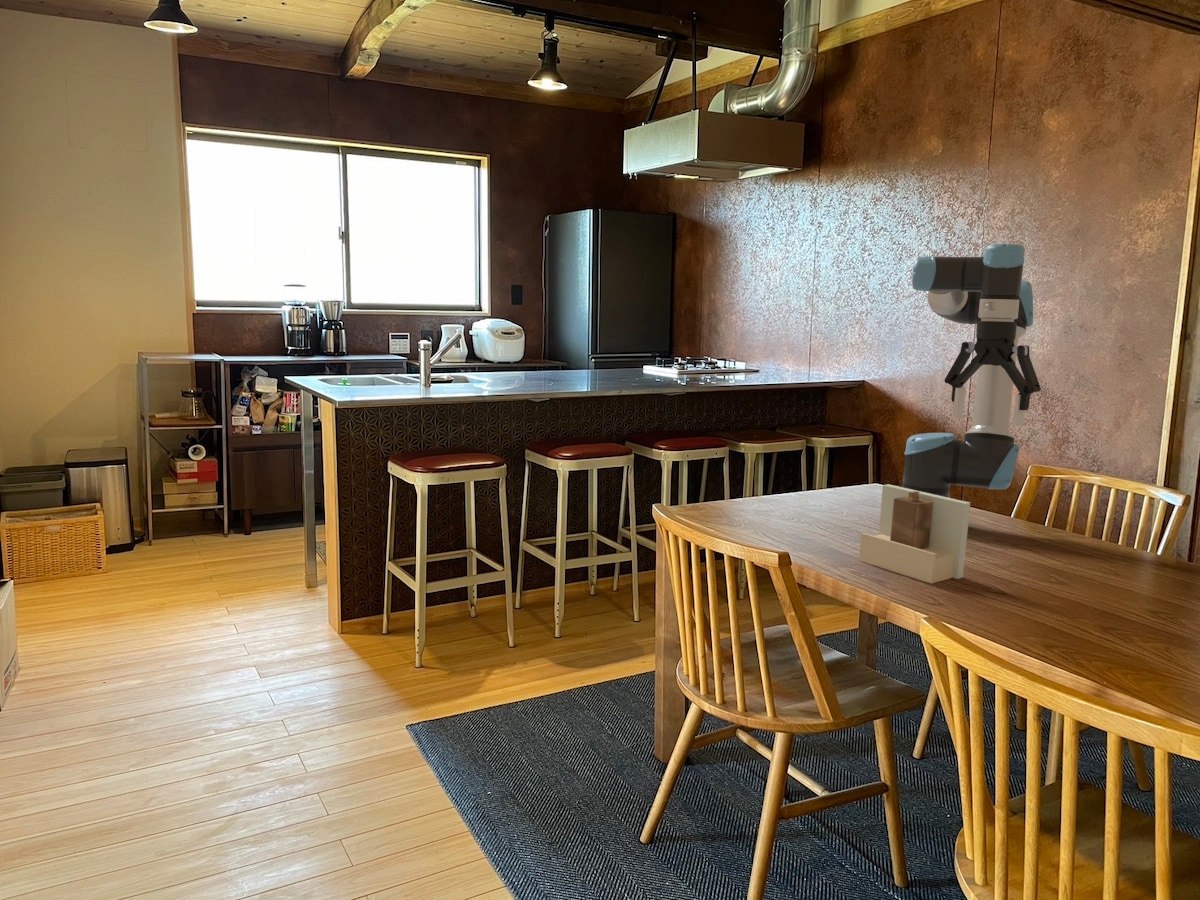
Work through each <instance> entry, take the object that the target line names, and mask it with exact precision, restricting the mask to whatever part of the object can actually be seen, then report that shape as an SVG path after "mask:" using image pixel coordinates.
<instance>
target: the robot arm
mask: <svg viewBox="0 0 1200 900" xmlns="http://www.w3.org/2000/svg"><path fill="white" fill-rule="evenodd" d="M1025 260H1026V259H1025V247H1024V246H1023V245H1022V244H1020V243H1019V244H1018V243H994V244H988V245H987V246H986V247H985V249H984V255H983V256H933V255H929V256H919V257H916V258H915V260H914V262H913V265H912V266H913V267H912V274H911V275H912V277H911V279H912V280H911V285H912V289H914V290H915V291H922V292H927V303H928V306H929V307H930V309H931V310H932V312H934V313H935V314H936V315H938V316H939V317H941V318H943V319H946V320H948V321H949V322H950V321H951V322H954V323H957V324H963V325H976V329H975V330H976V334H975V337H976V341H975V343H974V342H973V341H963V342H962V343H961V346H960V352H959V353H958V355H957V357H956V358H955V361H954V362H953V364H952V366H951V367H950V369H949V372H947V374H946V376H945V378H944V383H945V384H948V385H950V386H951V387H952V391H951V398H950V399H951V402H953V409H952V410H953V411H952V418H954V419H957V418H963V417H964V411H965V403H966V402H965V401H966V391H967V387H966V386H964V385H965V384H966V383H967V381H969V379H971V377H972V376H974V375H975V373H976V372H977V378H976V387H975V396H974V397H975V398H974V405H973V411H972V412H973V415H972V422H971V428H970V429H968V430H967V431H966V432H965V433H964V438H963V439H956V435H955V434H954V433H951V432H926V433H925V432H924V433H917V434H914V435H911V436H909V438H907V440H906V444H905V445H906V446H905V451H904V453H903V454H904V466H903V472H902V473H903V475H902V485H901V487H903V488H907V489H912V490H916V491H921V492H925V493H930V494H934V495H939V496H943V497H948V498H951V497H950V491H951V490H950V489H951V485H952V486H961V487H970V488H979V489H981V488H982V489H987V490H1006V489H1008V488H1009V487H1010V486H1011V484H1012V479H1013V476H1014V472H1015V468H1016V464H1017V459H1018V456H1019V452H1020V448H1021V447H1020V445H1019V444H1017V443H1015V436H1014V435H1013V434H1012V433H1011V432H1010V420H1011V409H1012V401H1013V392H1014V386H1015V388H1016V390H1017V391H1018V393H1016V394H1015V397H1014V406H1013V413H1012V424H1011V426H1012V427H1021V426H1022V427H1023V425H1024V417H1025V411H1028V410H1029V407H1030V400H1031V398H1030V397H1031V395H1032V394H1034V393H1039V392H1041V390H1042V389H1041V385H1040V382H1039V380H1038V376H1037V374H1036V371H1035V368H1034V365H1033V362H1032V360H1031V357H1030V346H1029V345H1028V344H1027V345H1024V344H1023V345H1022V344H1021V345H1018V344H1019V339H1020V338H1021V337H1022V336H1024V335H1025V334H1026V332H1027V331H1026V330H1027V328H1028V327H1032V326H1033V324H1034V299H1033V298H1034V296H1033V286H1032V284H1031V283H1030V281H1028V280H1024V279H1023V271H1024V264H1025ZM974 351H975V354H976V355H975V356H974V357H973V358H972V359H971V360H970V363H968V361H969V359H970V358H971V355H972V353H973V352H974ZM1016 362H1018V363H1019V366H1020V370H1021V372H1022V373H1021V372H1020V370H1019V368H1018V367H1017V363H1016ZM967 363H968V365H967V366H966V364H967ZM965 366H966V367H965Z"/></svg>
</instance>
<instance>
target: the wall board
mask: <svg viewBox="0 0 1200 900" xmlns="http://www.w3.org/2000/svg"><path fill="white" fill-rule="evenodd" d="M881 491H882V492H881V503H880V515H879V528H878V534H876V535H873V534H869V533H865V532H861V534H860V544H859V558H858V561H859V562H862V563H865V564H869V565H871V566H875V567H877V568H880V569H881V568H882V569H883V570H884V569H885V570H888V571H890V572H893V573H897V574H900V575H903V576H906V577H908V578H913V579H915V580H918V581H920V582H925V583H929V584H931V585H932V584H935V583H939V582H941V581H945V580H949V579H957V580H959V579H962V578H963V577H964V570H965V559H966V551H967V541H968V540H967V539H968V530H969V519H970V511H971V502H970V501H965V500H959V499H956V498H951V497H950V498H948V497H943V496H939V495H934V494H930V493H925V492H921V491H919V499H923V500H928V501H932V502H933V507H932V518H931V528H930V539H929V548H925V549H918V548H915V547H911V546H908V545H904V544H901V543H897V542H894V541H890V538H891V527H892V515H893V504H894V499H895V498H900V497H906V496H909V492H913V491H916V490H912V489H907V488H903V487H902V486H899V485H893V484H888V483H887V484H883V485H882V490H881Z"/></svg>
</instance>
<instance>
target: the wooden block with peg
mask: <svg viewBox="0 0 1200 900" xmlns="http://www.w3.org/2000/svg"><path fill="white" fill-rule="evenodd" d="M932 507H933V502H932V501H928V500H923V499H919V491H913V492H909V496H906V497H900V498H895V499H894V504H893V515H892V527H891V538H890V541H894V542H897V543H901V544H904V545H908V546H911V547H915V548H918V549H925V548H929V539H930V528H931V518H932Z"/></svg>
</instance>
